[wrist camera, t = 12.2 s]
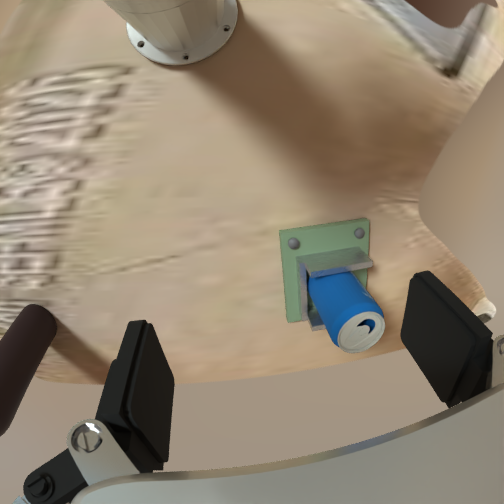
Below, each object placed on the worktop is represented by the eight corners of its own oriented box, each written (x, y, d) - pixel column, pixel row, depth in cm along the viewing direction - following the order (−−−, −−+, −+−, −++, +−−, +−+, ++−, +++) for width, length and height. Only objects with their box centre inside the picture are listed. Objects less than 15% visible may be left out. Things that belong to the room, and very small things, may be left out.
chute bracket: (295, 256, 40) (304, 273, 36) (358, 246, 41) (372, 261, 36) (298, 312, 44) (306, 332, 40) (356, 301, 44) (367, 319, 40)
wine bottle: (17, 313, 41) (-64, 450, 14) (36, 295, 40) (-56, 448, 13) (44, 342, 44) (-20, 485, 17) (65, 327, 43) (-5, 487, 16)
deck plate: (279, 230, 40) (280, 234, 38) (366, 218, 40) (370, 221, 39) (286, 318, 46) (288, 324, 44) (361, 303, 46) (365, 308, 45)
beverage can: (358, 273, 42) (398, 324, 32) (328, 306, 44) (358, 362, 33) (327, 249, 40) (365, 299, 29) (296, 285, 42) (322, 343, 31)
